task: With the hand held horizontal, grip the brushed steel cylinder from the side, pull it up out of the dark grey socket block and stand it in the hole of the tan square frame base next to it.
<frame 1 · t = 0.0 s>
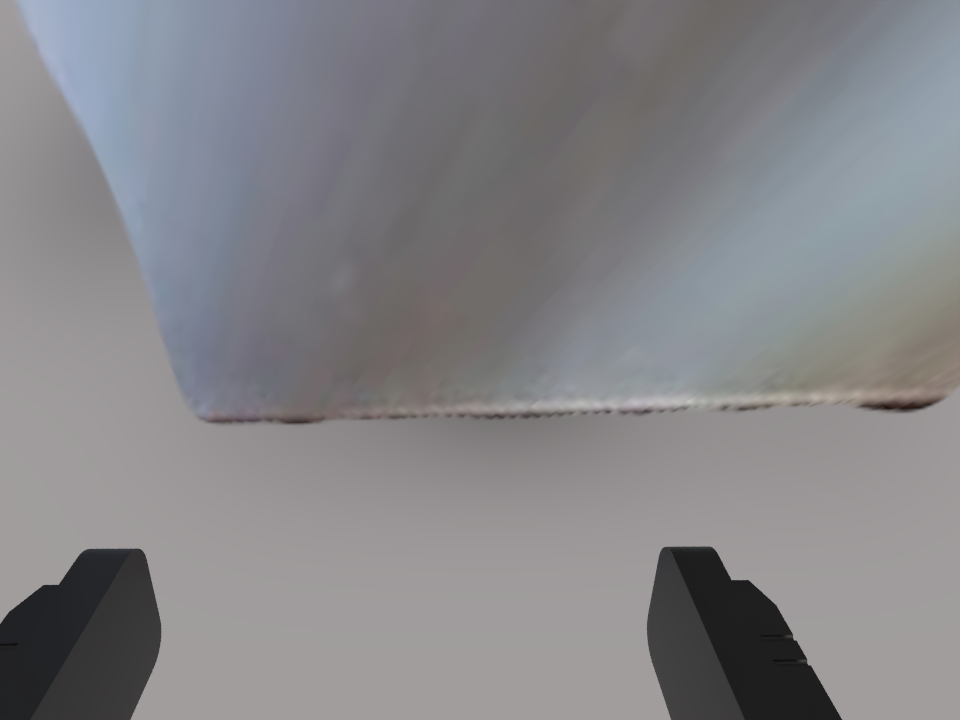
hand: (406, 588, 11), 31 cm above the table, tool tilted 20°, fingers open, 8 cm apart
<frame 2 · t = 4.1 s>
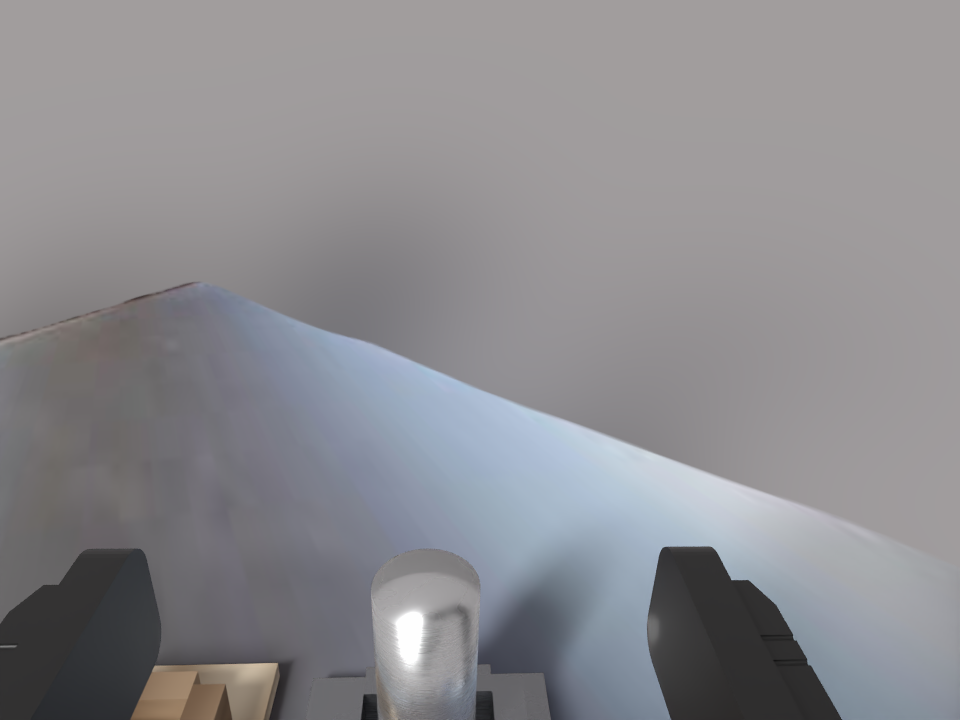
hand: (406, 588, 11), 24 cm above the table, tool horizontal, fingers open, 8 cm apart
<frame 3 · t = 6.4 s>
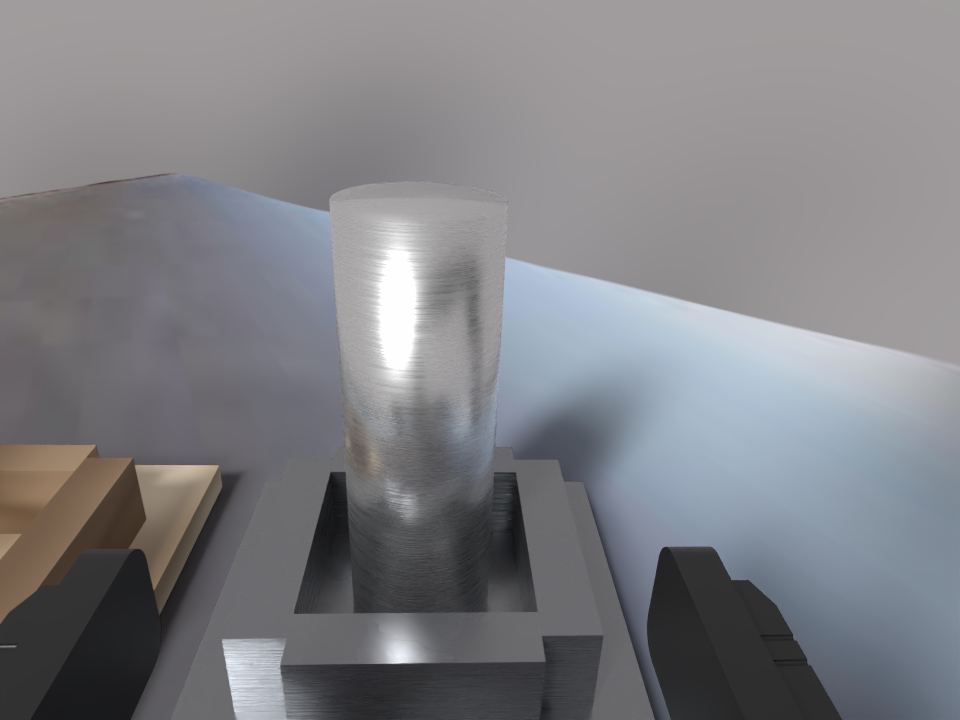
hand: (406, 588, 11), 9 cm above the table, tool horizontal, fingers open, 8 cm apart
brushed steel cylinder: (421, 598, 21), point 1 cm above the table, touching socket block
socket block: (421, 623, 21), on the table
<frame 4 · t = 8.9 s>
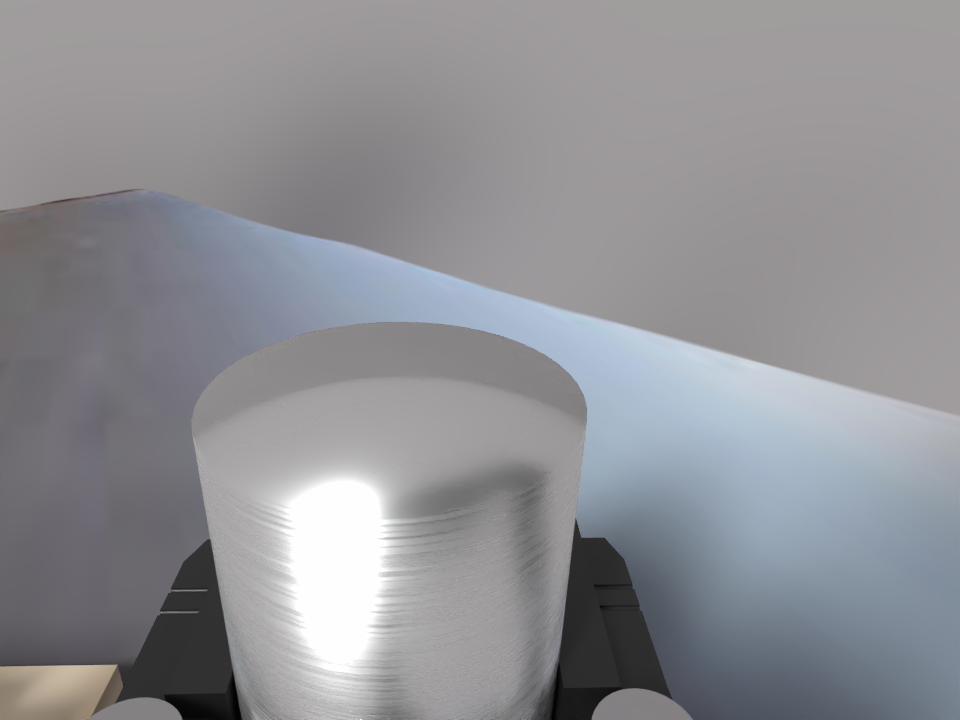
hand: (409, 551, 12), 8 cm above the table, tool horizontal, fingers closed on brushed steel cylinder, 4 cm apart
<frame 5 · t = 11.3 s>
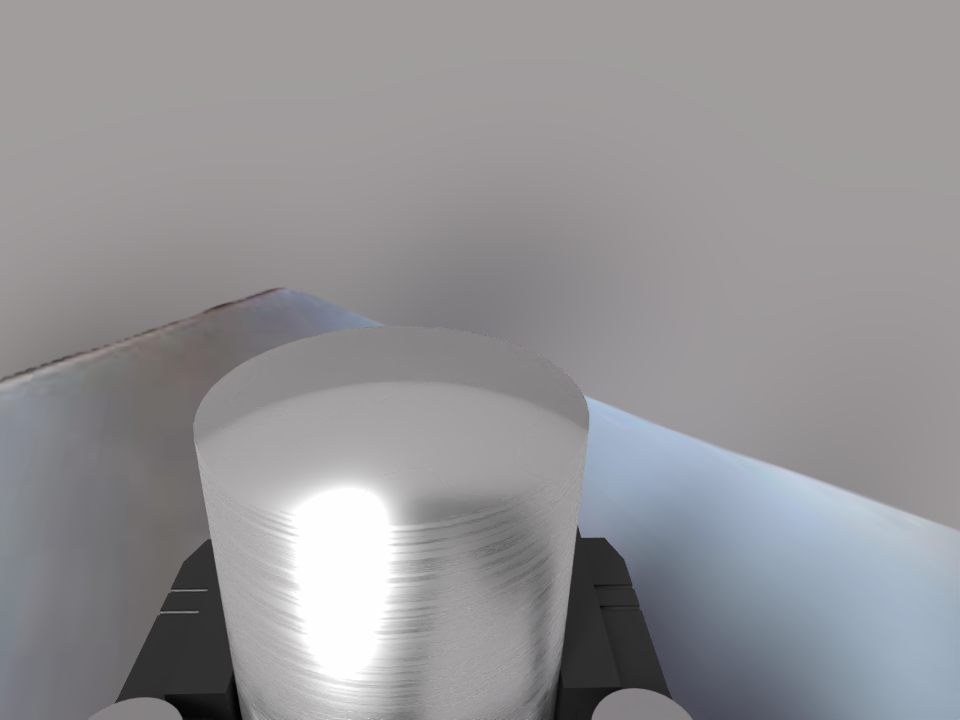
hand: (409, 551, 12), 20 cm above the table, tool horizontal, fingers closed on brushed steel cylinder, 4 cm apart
when the fingers open (10 cm above the table, at t = 13.7 s): brushed steel cylinder drops 1 cm, resting on tan square frame base.
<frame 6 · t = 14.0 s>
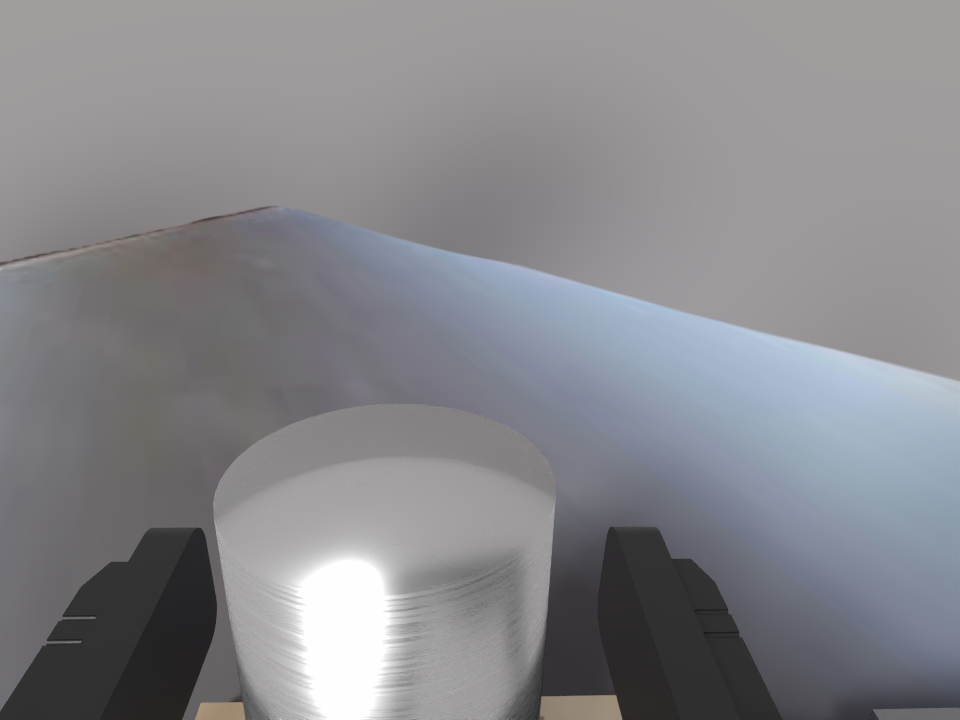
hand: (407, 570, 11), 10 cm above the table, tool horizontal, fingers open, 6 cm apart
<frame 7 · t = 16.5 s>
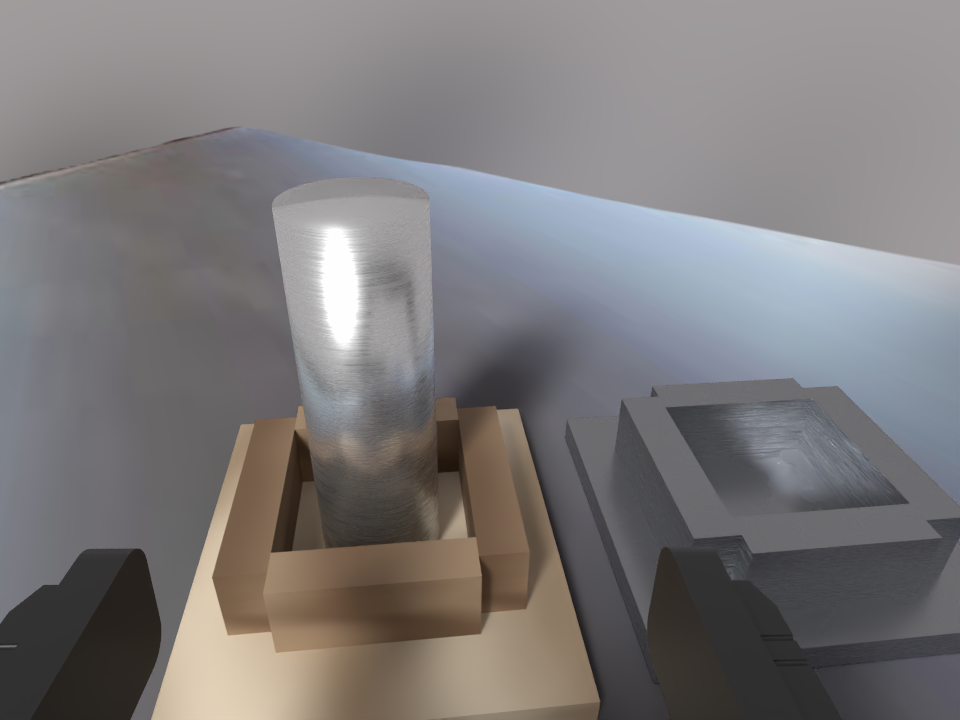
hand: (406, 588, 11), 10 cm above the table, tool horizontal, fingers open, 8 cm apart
tan square frame base: (382, 553, 25), on the table
brushed steel cylinder: (382, 534, 24), point 1 cm above the table, touching tan square frame base
socket block: (755, 523, 26), on the table
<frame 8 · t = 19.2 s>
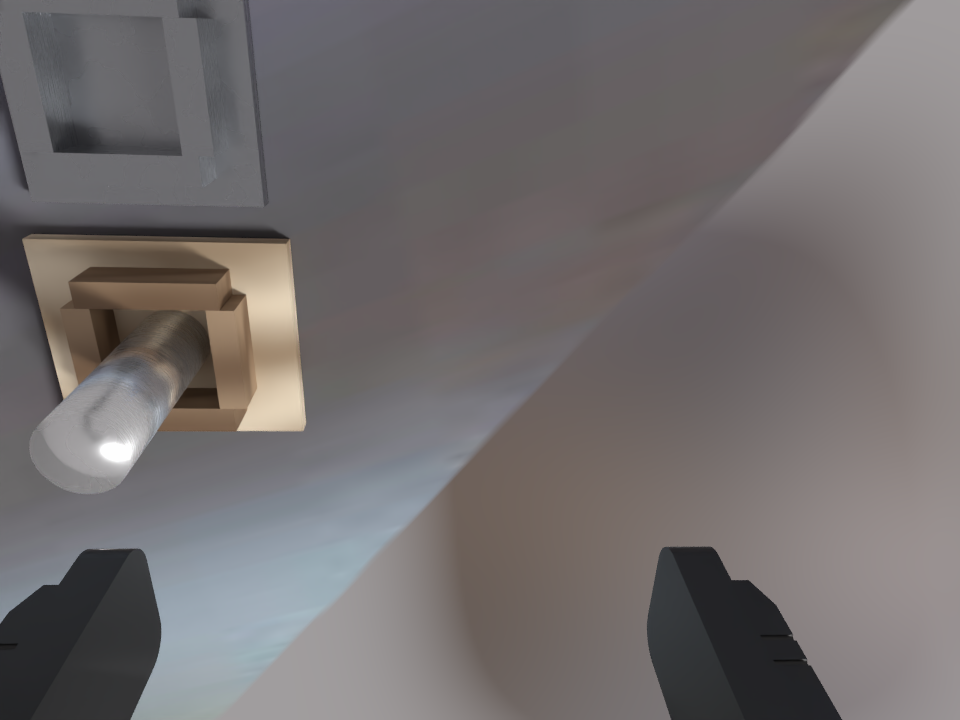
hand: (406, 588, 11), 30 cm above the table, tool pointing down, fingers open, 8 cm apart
tan square frame base: (179, 335, 41), on the table
brushed steel cylinder: (174, 341, 40), point 1 cm above the table, touching tan square frame base
socket block: (136, 81, 35), on the table
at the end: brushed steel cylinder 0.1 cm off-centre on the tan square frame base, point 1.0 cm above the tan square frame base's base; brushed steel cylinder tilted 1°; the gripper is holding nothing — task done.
